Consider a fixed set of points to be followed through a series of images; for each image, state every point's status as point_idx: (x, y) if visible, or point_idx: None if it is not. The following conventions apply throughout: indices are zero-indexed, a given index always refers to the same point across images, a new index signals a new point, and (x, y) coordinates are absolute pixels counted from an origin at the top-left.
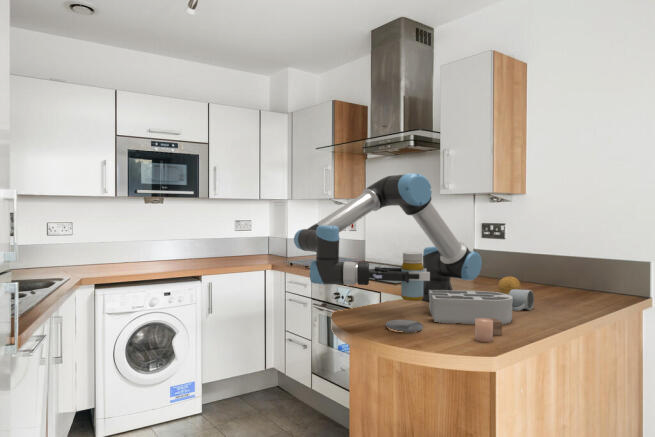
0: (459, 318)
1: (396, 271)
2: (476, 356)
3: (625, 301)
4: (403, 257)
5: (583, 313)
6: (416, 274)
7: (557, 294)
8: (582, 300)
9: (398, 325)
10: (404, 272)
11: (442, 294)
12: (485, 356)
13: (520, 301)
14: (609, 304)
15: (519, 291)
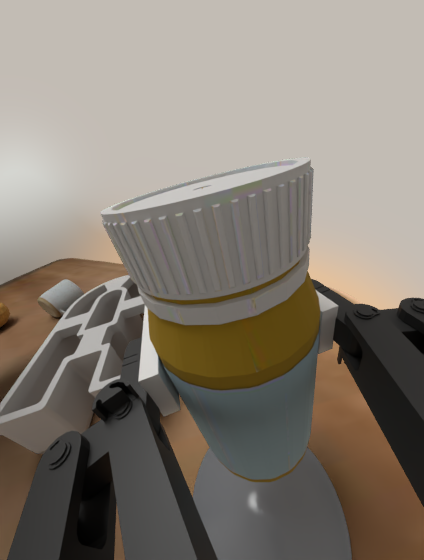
0: None
1: (189, 511)
2: (352, 300)
3: (71, 262)
4: (273, 250)
5: (109, 271)
6: (317, 285)
7: (14, 294)
8: (54, 278)
9: (295, 533)
10: (378, 327)
11: (65, 373)
12: (340, 293)
13: (75, 297)
14: (78, 266)
15: (58, 289)
